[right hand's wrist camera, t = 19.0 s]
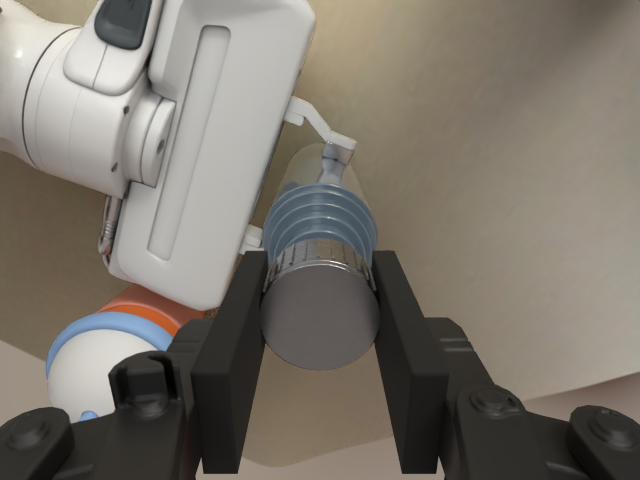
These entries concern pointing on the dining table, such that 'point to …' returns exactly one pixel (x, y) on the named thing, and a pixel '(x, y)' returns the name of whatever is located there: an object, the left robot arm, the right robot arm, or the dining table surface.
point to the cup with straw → (109, 348)
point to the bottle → (319, 206)
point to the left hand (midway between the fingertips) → (333, 201)
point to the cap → (319, 305)
